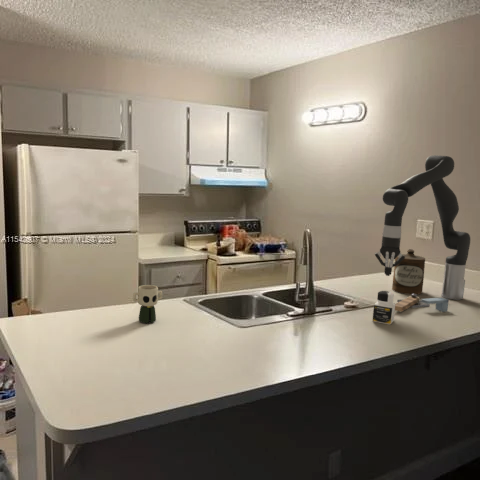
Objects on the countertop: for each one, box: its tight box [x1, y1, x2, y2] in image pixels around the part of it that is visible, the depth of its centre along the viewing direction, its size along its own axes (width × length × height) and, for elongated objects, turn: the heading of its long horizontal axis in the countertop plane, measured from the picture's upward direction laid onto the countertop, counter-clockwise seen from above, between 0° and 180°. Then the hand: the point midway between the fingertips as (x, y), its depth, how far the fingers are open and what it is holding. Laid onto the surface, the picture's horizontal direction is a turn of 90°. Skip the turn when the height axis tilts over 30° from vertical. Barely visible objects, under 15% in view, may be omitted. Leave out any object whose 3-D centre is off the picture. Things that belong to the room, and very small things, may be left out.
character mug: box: [132, 284, 163, 324], centre depth 171 cm, size 11×7×13 cm, turn 119°
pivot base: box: [396, 293, 431, 309], centre depth 217 cm, size 10×10×5 cm
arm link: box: [395, 295, 421, 313], centre depth 209 cm, size 24×5×2 cm, turn 142°
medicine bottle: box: [372, 290, 396, 325], centre depth 188 cm, size 7×7×12 cm
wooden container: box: [391, 248, 426, 295], centre depth 242 cm, size 15×15×22 cm
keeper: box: [420, 297, 450, 313], centre depth 208 cm, size 12×4×5 cm, turn 112°
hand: (387, 275), depth 204 cm, fingers closed
